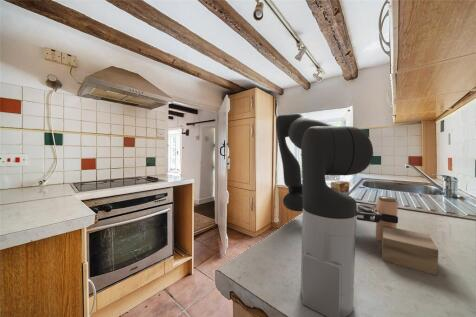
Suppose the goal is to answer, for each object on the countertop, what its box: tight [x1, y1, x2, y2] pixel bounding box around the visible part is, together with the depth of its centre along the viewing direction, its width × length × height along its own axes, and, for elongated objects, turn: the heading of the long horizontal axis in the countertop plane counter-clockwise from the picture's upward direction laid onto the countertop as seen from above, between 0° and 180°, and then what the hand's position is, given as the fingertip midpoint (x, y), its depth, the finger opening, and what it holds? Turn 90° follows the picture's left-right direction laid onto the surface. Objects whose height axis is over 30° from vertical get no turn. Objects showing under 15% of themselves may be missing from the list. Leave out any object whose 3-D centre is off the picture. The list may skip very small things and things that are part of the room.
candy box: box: [330, 180, 350, 196], centre depth 82 cm, size 9×4×15 cm, turn 123°
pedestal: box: [381, 226, 439, 276], centre depth 49 cm, size 10×10×6 cm
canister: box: [375, 195, 399, 242], centre depth 60 cm, size 5×5×14 cm
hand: (396, 217), depth 58 cm, fingers closed on canister, 5 cm apart
